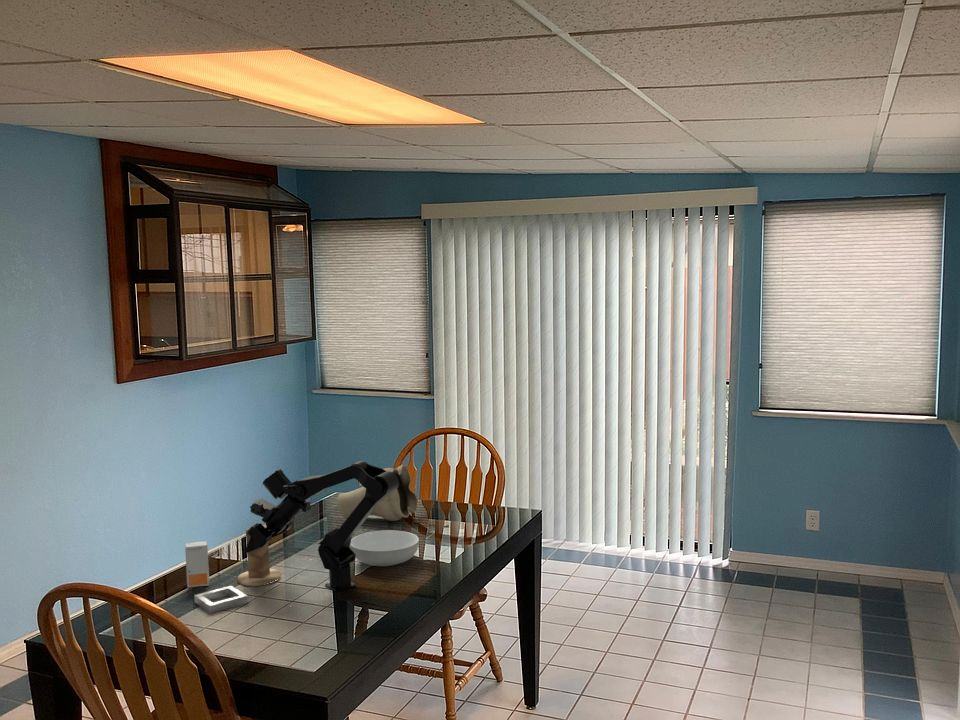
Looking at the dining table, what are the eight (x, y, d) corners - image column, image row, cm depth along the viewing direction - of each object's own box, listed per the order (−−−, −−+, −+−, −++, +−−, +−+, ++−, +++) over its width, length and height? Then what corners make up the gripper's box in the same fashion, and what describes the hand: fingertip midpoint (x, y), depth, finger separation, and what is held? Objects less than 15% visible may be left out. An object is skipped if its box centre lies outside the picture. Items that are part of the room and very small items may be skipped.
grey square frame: (247, 602, 241) (247, 595, 240) (210, 613, 234) (209, 605, 234) (231, 592, 249) (231, 585, 249) (194, 602, 242) (194, 595, 242)
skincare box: (187, 588, 253) (184, 547, 252) (187, 583, 257) (185, 542, 256) (209, 585, 255) (206, 544, 253) (209, 580, 259) (207, 540, 257)
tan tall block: (269, 573, 261) (267, 526, 259) (263, 578, 256) (260, 531, 255) (255, 572, 262) (252, 525, 260) (248, 577, 257) (245, 530, 256)
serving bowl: (409, 575, 259) (408, 552, 258) (340, 572, 263) (339, 549, 262) (427, 552, 279) (426, 530, 278) (363, 549, 283) (362, 528, 283)
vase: (310, 488, 307) (388, 470, 299) (333, 463, 329) (407, 445, 321) (332, 548, 312) (410, 531, 304) (354, 519, 334) (427, 503, 326)
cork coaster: (288, 578, 258) (287, 575, 258) (249, 589, 251) (249, 585, 251) (269, 568, 268) (269, 565, 267) (231, 578, 260) (231, 575, 260)
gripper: (281, 482, 265) (249, 517, 268) (252, 499, 246) (218, 536, 250) (307, 509, 264) (274, 544, 267) (279, 527, 246) (245, 564, 249)
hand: (253, 546), depth 258 cm, fingers open, 9 cm apart
